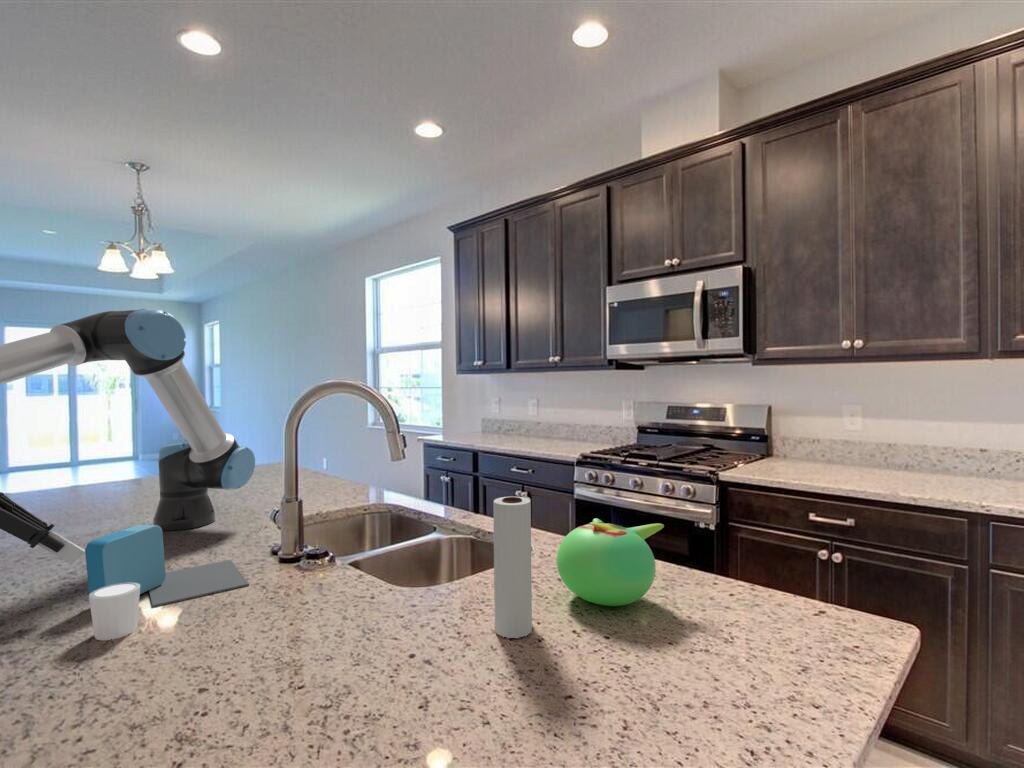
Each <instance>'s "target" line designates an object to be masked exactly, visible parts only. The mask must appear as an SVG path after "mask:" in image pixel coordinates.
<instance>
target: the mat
mask: <svg viewBox="0 0 1024 768" xmlns="http://www.w3.org/2000/svg"><path fill="white" fill-rule="evenodd" d="M165 573H166V577H165V580H164V581H163V583H162V584H161V585H159V586H157V587H155V588H153V589H151V590H149V591H148V594H150V595H149V599H150V602H151V605H153V606H152V608H155V606H157V607H161V606H165V605H164V604H166V605H169V604H168V603H170V604H173V603H172V602H174V603H178V602H177V601H179V602H181V600H183V601H187V600H186V599H188V600H190V599H189V598H192V599H195V598H194V597H196V598H200V597H199V596H201V597H205V596H209V595H208V594H210V595H213V594H212V593H214V594H218V593H221V592H220V591H223V592H226V591H225V590H227V591H230V590H231V589H232V590H235V589H240V588H241V589H242V588H244V587H249V586H250V583H249V582H248V580H247V579H246V577H245V576H244V575H243V574H242V572H241V571H240V569H239V568H238V567H237V566H236V565H235V564H234V562H233V561H232V560H231V559H226V560H222V561H217V562H212V563H207V564H201V565H197V566H191V567H187V568H182V569H181V568H180V569H176V570H172V571H165ZM217 592H218V593H217ZM204 595H205V596H204ZM160 605H161V606H160Z"/></svg>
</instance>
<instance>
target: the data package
mask: <svg viewBox="0 0 1024 768" xmlns="http://www.w3.org/2000/svg"><path fill="white" fill-rule="evenodd" d="M84 550H85V553H84V554H85V562H86V563H85V565H86V575H87V586H88V587H87V589H88V596H89V595H90V593H92V592H93V591H95V590H97V589H100V588H102V587H105V586H109V585H113V584H119V583H129V582H132V583H138V584H140V595H142V594H144V593H145V592H149V591H148V590H151V589H153V588H155V587H157V586H159V585H161V584H162V583H163V581H164V580H165V577H166V561H165V560H166V559H165V549H164V535H163V530H162V529H161V527H159V526H157V525H153V524H152V525H151V524H137V525H133V526H130V527H128V528H125V529H121V530H118V531H115V532H113V533H110V534H107V535H104V536H100V537H98V538H94V539H92V540H90V541H88V544H87V545H86V546H85V549H84Z"/></svg>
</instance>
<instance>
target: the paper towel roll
mask: <svg viewBox="0 0 1024 768" xmlns="http://www.w3.org/2000/svg"><path fill="white" fill-rule="evenodd" d="M531 503H532V502H531V498H530V497H528V496H527V494H526V493H525V494H524V496H502V497H497V498H495V499H494V500H493V503H492V504H493V506H492V507H493V514H492V515H493V573H494V575H493V576H494V577H493V579H494V580H493V583H494V584H493V585H494V589H493V590H494V591H493V592H494V631H495V634H496V635H498V634H499V635H501V636H503V637H502V638H504V637H507V638H506V639H509V638H516V637H517V639H519V638H518V637H523V636H525V637H527V636H526V635H528V634H529V633H530V634H531V633H532V631H533V630H532V629H533V617H532V616H533V609H532V608H533V601H532V598H533V596H532V518H531V517H532V513H531V511H532V509H531V507H532V506H531ZM530 634H529V635H530ZM499 635H498V636H499ZM529 635H528V636H529ZM501 636H500V637H501ZM523 638H524V637H523Z"/></svg>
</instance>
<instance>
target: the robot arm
mask: <svg viewBox="0 0 1024 768" xmlns="http://www.w3.org/2000/svg"><path fill="white" fill-rule="evenodd" d="M186 338H187V337H186V331H185V329H184V327H183V325H182V323H181V322H180V321H179V319H178V318H176V317H175V316H174V315H172V314H171V313H169V312H167V311H164V310H161V309H151V308H140V309H139V308H138V309H131V310H130V309H129V310H110V311H102V312H98V313H97V312H96V313H95V314H91V315H88V316H84V317H81V318H79V319H74V320H72V321H69V322H65V323H62V324H57V325H54V326H52V327H51V329H50V331H49V332H46V333H41V334H38V335H34V336H29V337H27V338H26V337H25V338H23V339H18V340H15V341H10V342H6V343H3V344H0V386H2V385H5V384H8V383H11V382H15V381H17V380H21V379H24V378H26V377H29V376H33V375H37V374H39V373H42V372H45V371H48V370H52V369H55V368H58V367H63V366H64V365H69V366H71V367H76V366H79V365H82V364H87V363H93V362H101V361H102V362H103V361H125V362H126V363H127V365H128V366H129V368H130V370H131V371H132V373H133V374H134V376H135V375H136V376H137V377H143V378H145V379H146V381H147V382H148V384H149V386H150V388H152V390H153V392H154V393H155V394H156V396H157V398H158V399H159V401H160V402H161V404H162V405H163V407H164V409H165V410H166V412H167V413H168V415H169V416H170V418H171V420H172V421H173V423H174V424H175V426H176V427H177V429H178V431H179V432H180V433H181V436H182V437H183V439H184V440H185V442H179V443H173V444H166V445H163V446H162V447H161V448H160V449H159V451H158V452H159V453H158V460H157V462H158V480H159V483H158V484H159V500H158V501H159V502H158V503H157V507H156V510H155V513H154V517H153V518H152V519H153V520H152V525H157V526H159V527H161V529H162V531H180V530H188V529H189V530H190V529H193V528H198V527H203V526H206V525H209V524H211V523H213V522H214V521H216V511H215V509H214V507H213V503H212V501H211V499H210V496H209V493H208V491H209V490H208V489H212V490H213V489H214V490H215V489H216V490H226V491H227V490H238V489H241V488H242V487H245V485H246V484H248V482H249V481H250V480H251V478H252V477H253V475H254V472H255V467H256V456H255V453H254V452H253V450H252V449H251V448H250V447H247V446H243V445H242V446H240V445H239V444H238V442H237V440H236V438H235V437H234V436H233V435H232V434H231V433H230V432H224V431H223V429H222V428H221V427H222V426H220V424H219V422H218V420H217V418H216V416H215V415H214V413H213V412H212V410H211V408H210V406H209V405H208V403H207V401H206V400H205V399H204V396H203V394H202V393H201V391H200V390H199V388H198V386H197V385H196V383H195V381H194V380H193V377H192V375H191V374H190V372H189V371H188V369H187V367H186V366H185V364H184V362H183V359H184V357H185V356H186V352H185V351H184V350H185V347H186V343H187V341H185V339H186ZM54 527H55V525H54V524H53V523H50V525H49V524H48V523H47V522H45V521H43V520H41V519H40V518H39V517H37V516H35V515H34V514H33V513H31V512H30V511H28V510H27V509H25V508H24V507H22V506H21V505H19V504H18V503H16V502H15V501H13V500H12V499H11V498H10V497H8V496H7V495H5V494H4V492H2V491H0V530H2V531H4V532H5V533H7V534H10V535H12V536H13V537H16V538H17V539H19V540H22V541H23V542H25V543H27V544H28V545H30V546H29V548H31V549H34V548H35V547H37V546H39V547H40V548H42V549H43V550H45V551H47V552H49V553H51V554H52V555H54V556H56V557H57V558H59V559H61V560H62V561H64V562H66V563H67V564H70V565H71V566H72V565H74V564H75V562H77V560H79V559H80V558H81V557H82V556H83V555H84V554H85V549H84V548H82V547H81V546H79V545H77V544H76V543H74V542H72V541H71V540H70V539H67V538H66V537H64V536H63V535H61V534H59V533H58V532H56V531H54V530H52V529H53V528H54Z"/></svg>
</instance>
